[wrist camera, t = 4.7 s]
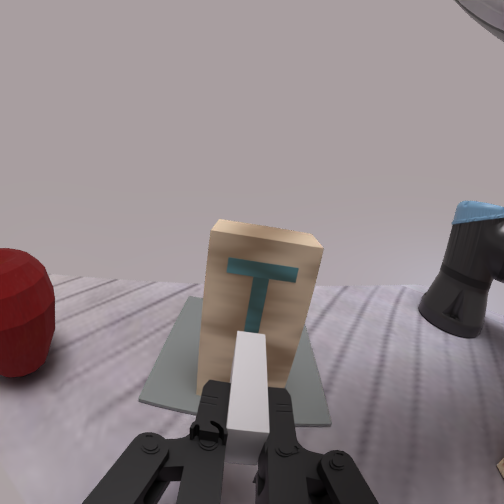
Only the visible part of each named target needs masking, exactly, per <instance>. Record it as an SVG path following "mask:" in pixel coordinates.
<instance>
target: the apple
mask: <svg viewBox="0 0 504 504" xmlns="http://www.w3.org/2000/svg"><path fill="white" fill-rule="evenodd" d="M54 331H55V296H54V289H53V286H52V283H51V281H50V279H49V276H48V274H47V272H46V269H45V267H44V266H43V265H42V264H41V263H40V262H39V261H38V260H37V259H36V258H34V257H33V256H31V255H30V254H28V253H27V252H24V251H21V250H15V249H9V248H0V375H2V376H5V377H21V376H25V375H27V374H30V373H32V372H35V371H36V370H37V369H38V368H39V367H40V366H41V365H43V364H44V363H45V360H46V357H47V354H48V352H49V348H50V344H51V341H52V337H53V334H54Z"/></svg>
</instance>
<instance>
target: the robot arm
mask: <svg viewBox="0 0 504 504" xmlns="http://www.w3.org/2000/svg"><path fill="white" fill-rule="evenodd" d="M455 1H456V3H457V4H458V5H459V6H460V7H461V8H462V9H463V10H464V11H465V12H466V13H467V14H468V15H469V16H470V17H471V18H473V19H474V20H475V21H476V22H478V23H479V24H480V25H481V26H482V27H484V28H485V29H486V30H488V31H489V32H490V33H492V34H493V35H494V36H496V37H497V38H498V39H500V40H502V41H503V42H504V0H455ZM452 225H453V226H452V230H451V234H450V238H449V242H448V245H447V249H446V252H445V256H444V259H443V262H442V265H441V269H440V272H439V274H438V275H437V277H436V278H435V280H434V282H433V283H432V285H431V286H430V288H429V289H428V291H427V292H426V293H425V294H424V295H423V297H422V299H421V302H420V304H419V311H420V312H421V314H422V315H423V316H424V317H425V318H426V319H427V320H428V321H430V322H431V323H432V324H434V325H435V326H437V327H439V328H441V329H442V330H445V331H447V332H449V333H452V334H454V335H458V336H461V337H469V338H471V337H476V336H478V335H479V334H480V331H481V329H482V327H483V325H484V317H485V312H486V306H487V297H488V292H489V289H490V286H491V283H492V281H493V279H495V280H497V281H500V282H502V283H504V207H501V206H497V205H493V204H489V203H483V202H477V201H462V202H460V203H459V204H458V206H457V209H456V212H455V216H454V220H453V222H452ZM224 462H227V463H236V464H246V465H257V463H258V471H257V473H256V475H255V478H254V481H253V483H256V500H255V504H379V503H378V502H377V500H376V498H375V497H374V495H373V493H372V491H371V490H370V488H369V486H368V485H367V483H366V481H365V480H364V478H363V476H362V475H361V473H360V471H359V469H358V468H357V466H356V464H355V463H354V461H353V459H352V458H351V457H350V455H349V454H347V453H345V452H344V451H339V450H333V451H329V452H327V453H326V454H325V455H323V454H319V453H315V452H311V451H308V450H306V449H305V448H303V447H302V446H301V445H300V444H299V443H298V441H297V438H296V431H295V423H294V415H293V408H292V400H291V395H290V394H289V392H288V391H287V390H286V388H277V387H268V383H267V360H266V338H265V334H258V333H250V332H243V331H237V337H236V343H235V350H234V356H233V362H232V368H231V377H230V383H228V382H222V381H215V380H209V381H208V382H207V383H206V384H205V385H204V386H203V389H202V394H201V398H200V403H199V407H198V412H197V416H196V421H195V422H193V423H192V425H191V427H190V434H189V435H187V436H186V437H183V438H179V439H164V438H163V437H162V436H160V435H159V434H156V433H152V432H145V433H142V434H139V435H138V436H137V437H135V438H134V440H133V441H132V442H131V443H130V445H129V446H128V447H127V449H126V450H125V451H124V452H123V454H122V455H121V456H120V457H119V459H118V460H117V461H116V462H115V464H114V465H113V466H112V467H111V469H110V470H109V471H108V472H107V473H106V475H105V476H104V477H103V478H102V480H101V481H100V482H99V483H98V485H97V486H96V487H95V488H94V489H93V491H92V492H91V493H90V494H89V496H88V497H87V498H86V499H85V500H84V502H83V503H82V504H157V503H158V501H159V500H160V498H161V496H162V495H163V493H164V491H165V490H166V488H167V487H168V485H169V483H170V482H171V481H181V483H180V488H179V493H178V497H177V502H176V504H220V500H221V490H222V479H223V469H224Z"/></svg>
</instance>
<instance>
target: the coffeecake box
mask: <svg viewBox="0 0 504 504" xmlns="http://www.w3.org/2000/svg"><path fill="white" fill-rule="evenodd" d="M497 467H498V469H499V471H500V473H501V474H502V476H503V478H504V458H503V459H502V460H501V461H500V462H499V463H498V464H497Z"/></svg>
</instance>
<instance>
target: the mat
mask: <svg viewBox="0 0 504 504" xmlns="http://www.w3.org/2000/svg"><path fill="white" fill-rule="evenodd" d="M202 306H203V298H198V297H192V296H189V297H188V299H187V301H186V303H185V305H184V307H183V309H182V311H181V313H180V315H179V317H178V319H177V321H176V322H175V324H174V326H173V328H172V330H171V332H170V334H169V336H168V338H167V340H166V342H165V344H164V346H163V348H162V350H161V353H160V355H159V357H158V359H157V361H156V363H155V365H154V367H153V369H152V371H151V373H150V375H149V377H148V379H147V381H146V384H145V386H144V388H143V390H142V392H141V394H140V396H139V398H138V399H139V402H142V403H146V404H150V405H153V406H157V407H161V408H165V409H169V410H174V411H178V412H183V413H188V414H193V415H197V412H198V407H199V403H200V398H201V396H200V395H196V389H197V372H198V356H199V342H200V329H201V318H202ZM285 388H286V390H287V391H288V392H289V394H290V395H291V400H292V408H293V415H294V423H295V426H314V427H317V426H331V424H332V422H331V418H330V414H329V410H328V406H327V403H326V399H325V395H324V391H323V387H322V384H321V380H320V376H319V372H318V369H317V365H316V361H315V358H314V354H313V351H312V347H311V343H310V340H309V336H308V333H307V329H306V326H305V324H304V327H303V331H302V334H301V337H300V341H299V344H298V347H297V351H296V354H295V357H294V360H293V364H292V367H291V370H290V373H289V376H288V379H287V382H286V385H285Z"/></svg>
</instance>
